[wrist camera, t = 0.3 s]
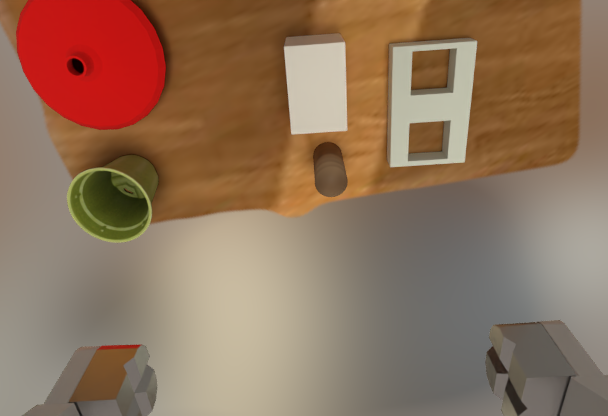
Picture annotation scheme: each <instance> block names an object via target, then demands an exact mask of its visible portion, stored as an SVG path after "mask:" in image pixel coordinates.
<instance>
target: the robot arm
mask: <svg viewBox="0 0 608 416" xmlns="http://www.w3.org/2000/svg"><path fill="white" fill-rule="evenodd" d="M489 339H490V341H491V343H492V345H493V346H492V347H491V348H490V349H489V350H488V351H487V354H486V361H485V364H486V374H487V378H488V381H489V384H490V387H491V389H492V391H493V393H494V394H495V395H496V396H498V397H499V398H500V399H502V400H503V403H502V408H501V411H502V413H503V415H504V416H608V375H603V373H602V372H601V371H600V370H599V368H598V367H597V366H596V364H595V363H594V362H593V360H592V359H591V358H590V356H589V355H588V354H587V352H586V351H585V350H584V348H583V347H582V346H581V345H580V343H579V342H578V340H577V339H576V338H575V337H574V335H573V334H572V333H571V331H570V330H569V329H568V327H567V326H566V325H565V323H563V322H562V321H560V320H556V321H542V322H529V323H515V324H514V323H513V324H499V325H493V326H492V328H491V329H490V335H489ZM149 357H150V356H149V353H148V350H147V347H146V346H144V345H114V346H113V345H112V346H96V347H80V348H79V349H77V350H76V351H75V352H74V354H73V356H72V357H71V359H70V361H69V362H68V364H67V366H66V367H65V369H64V371H63V372H62V374H61V376H60V377H59V379H58V381H57V382H56V384H55V386H54V387H53V389H52V391H51V392H50V394H49V396H48V397H47V399H46V401H45V402H44V404H42V405H36V406H35V407H33V408H32V409H30V410H29V411H28V412H26V413H25V414H24V415H22V416H147V415H148V414H149V413H151V411H152V410H153V407H154V403H155V401H156V393H157V379H156V375H155V371H154V369H152V368H151V367H150V366H148V365H147V362H148V360H149Z"/></svg>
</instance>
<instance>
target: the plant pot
mask: <svg viewBox="0 0 608 416" xmlns="http://www.w3.org/2000/svg"><path fill="white" fill-rule="evenodd" d="M158 182H159V180H158V175H157V173H156V171H155V168H154V166H153V165H152V164H151V163H150V162H149V161H148V160H146V159H145V158H142V157H140V156H137V155H125V156H122V157H119V158H118V159H116V160H114V161H112V162H111V163H109V164H107V165H105V166H103V167H96V168H91V169H88V170H85V171H83V172H81V173H80V174H78V175H77V176H76V177H75V178H74V179H73V181H72V182H71V184H70V186H69V189H68V193H67V203H68V207H69V211H70V213H71V215H72V217H73V219H74V220H75V222H76V223H77V224H78V225H79V226H80V227H81V228H82V229H83V230H84V231H86V232H87V233H89V234H90V235H91V236H93V237H95V238H98V239H100V240H104V241H108V242H116V243H117V242H127V241H131V240H133V239H136V238H137V237H139V236H140V235H142V234H143V233H144V232H145V230H146V229H147V228H148V226H149V224H150V222H151V218H152V205H151V203H152V200H153V197H154V195H155V192H156V189H157V186H158ZM124 188H126V189H127V190H129V191H131V192H133V194H131V193H128V192H126V191H125V190H124Z"/></svg>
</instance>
